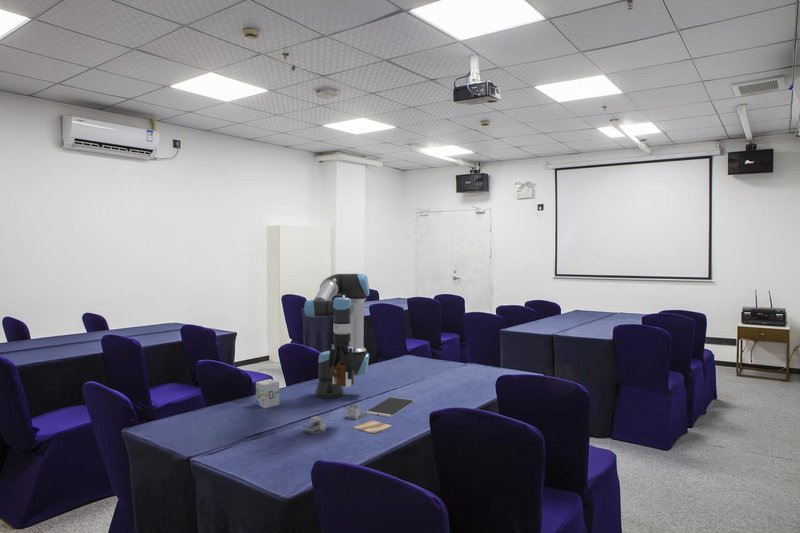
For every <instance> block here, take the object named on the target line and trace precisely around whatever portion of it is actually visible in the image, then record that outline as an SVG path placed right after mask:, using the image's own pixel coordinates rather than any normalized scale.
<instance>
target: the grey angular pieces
mask: <svg viewBox="0 0 800 533" xmlns="http://www.w3.org/2000/svg"><path fill="white" fill-rule="evenodd" d="M345 408H346V410H345V411H346V412H345V414H346V417H347V418H349V419H354V420H358V419H362V418H365V417H367V414H366V413H364V412H361V410H362V409H361V406H359V405H355V404H348V405H346V407H345ZM326 421H327V420H326V418H323V417H320V416H316V415H315V416H312V417H310V423H309V424H302V427H304V428H303V432H306V433H309V434H311V435H314V436H316V435H319V434H321V433H324V432H326V430H327V429H326V424H327V422H326Z"/></svg>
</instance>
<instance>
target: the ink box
mask: <svg viewBox="0 0 800 533" xmlns="http://www.w3.org/2000/svg"><path fill="white" fill-rule="evenodd" d="M279 405H280V381H278V380H274V379H272V378H271V379H270V378H269V379H264V380H260V381H256V382H255V406H258V407H261V408H263V409H266V408H272V407H275V406H279Z"/></svg>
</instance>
